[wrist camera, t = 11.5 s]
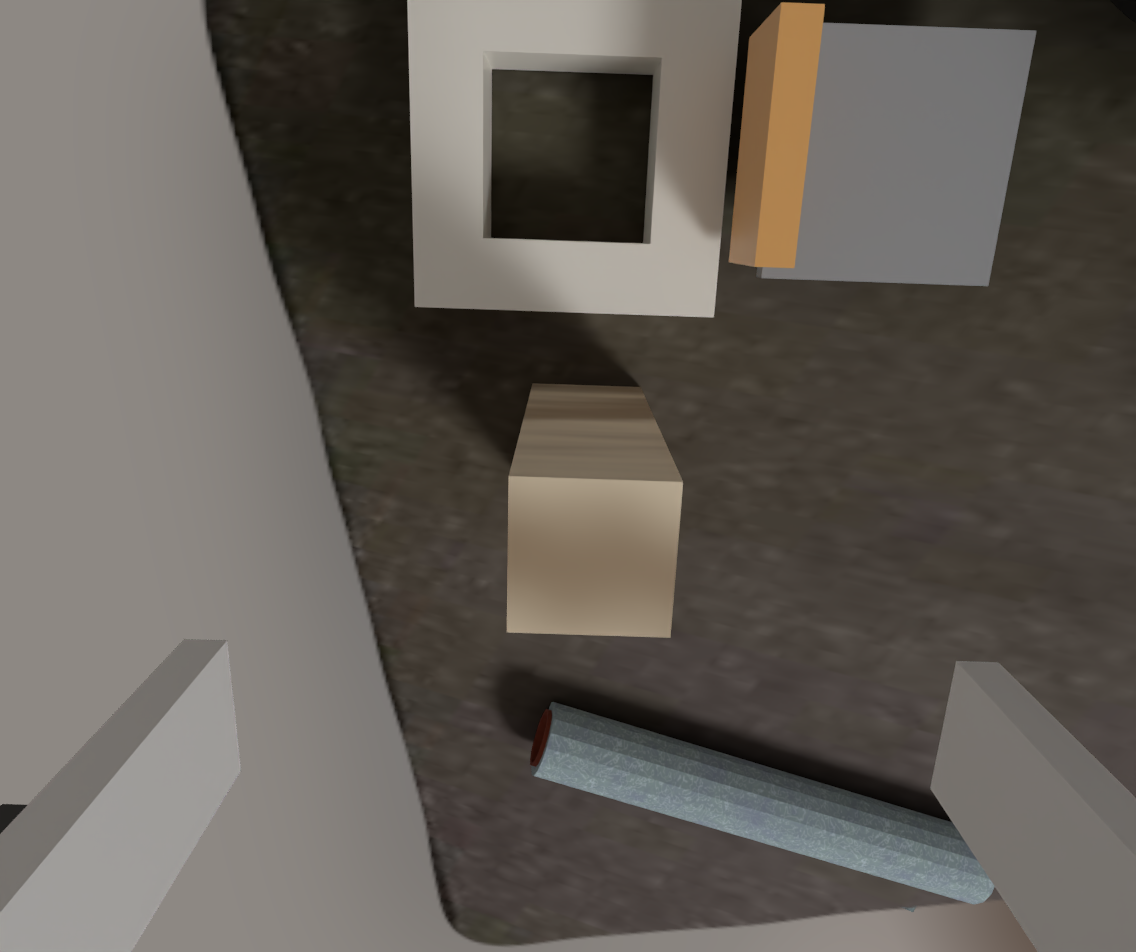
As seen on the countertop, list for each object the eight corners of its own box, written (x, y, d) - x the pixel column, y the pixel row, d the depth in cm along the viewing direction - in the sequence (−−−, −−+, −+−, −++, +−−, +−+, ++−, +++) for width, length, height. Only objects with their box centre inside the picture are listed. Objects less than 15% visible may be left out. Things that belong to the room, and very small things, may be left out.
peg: (532, 383, 32) (508, 476, 20) (640, 387, 33) (683, 482, 20) (530, 485, 34) (506, 632, 21) (634, 489, 34) (670, 637, 21)
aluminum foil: (976, 815, 39) (1012, 867, 36) (916, 913, 41) (945, 971, 38) (551, 685, 37) (549, 729, 34) (509, 795, 39) (503, 846, 36)
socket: (423, -11, 28) (406, -38, 25) (726, 1, 28) (744, -26, 25) (428, 300, 31) (414, 307, 29) (700, 309, 32) (713, 317, 29)
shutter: (745, 26, 26) (783, -19, 21) (1022, 36, 26) (1120, -6, 21) (723, 275, 28) (752, 283, 24) (976, 284, 28) (1055, 294, 24)
